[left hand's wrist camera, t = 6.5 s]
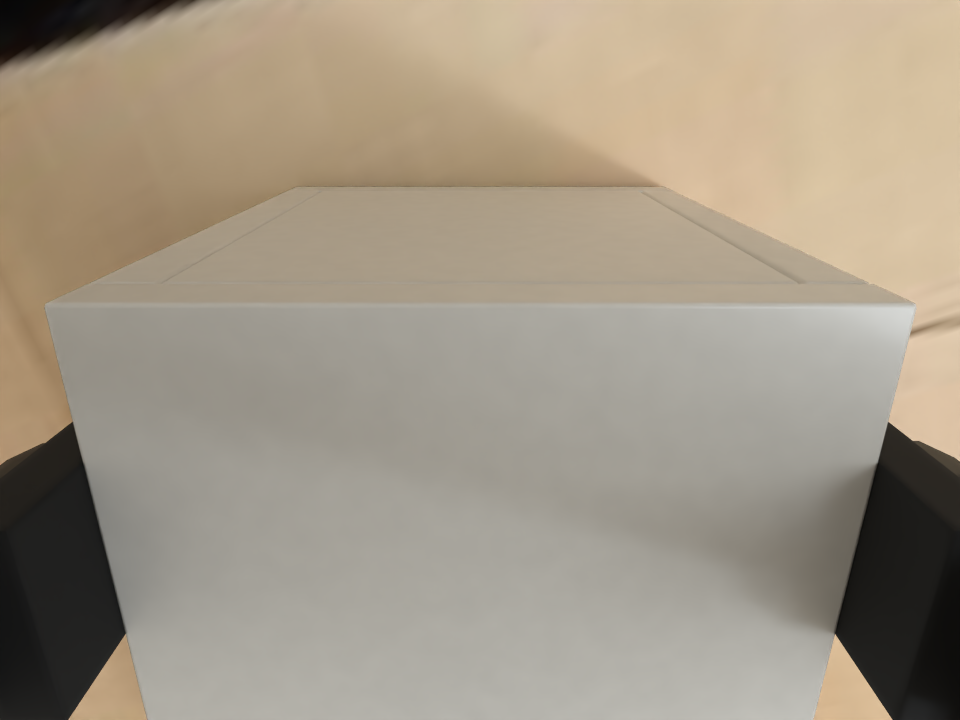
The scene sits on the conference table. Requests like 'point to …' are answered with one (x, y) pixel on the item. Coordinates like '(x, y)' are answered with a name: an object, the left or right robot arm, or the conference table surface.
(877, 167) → the conference table surface
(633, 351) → the cabinet
